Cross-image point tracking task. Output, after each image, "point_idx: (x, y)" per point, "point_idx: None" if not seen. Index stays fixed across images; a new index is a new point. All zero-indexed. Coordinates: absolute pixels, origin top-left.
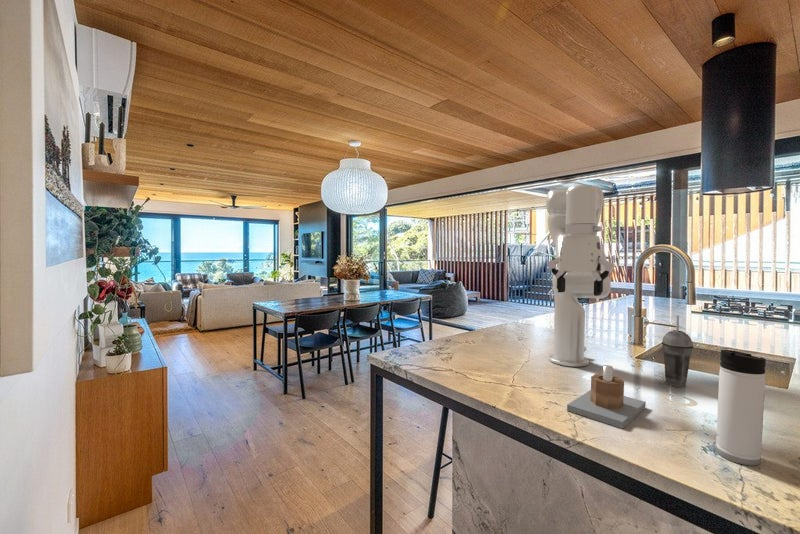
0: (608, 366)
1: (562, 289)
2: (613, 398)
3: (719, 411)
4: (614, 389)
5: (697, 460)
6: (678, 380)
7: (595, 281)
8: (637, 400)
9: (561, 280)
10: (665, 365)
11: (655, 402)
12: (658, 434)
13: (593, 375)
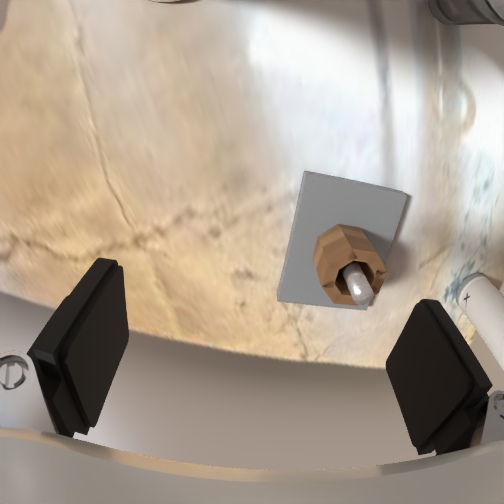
0: (364, 295)
1: (119, 323)
2: None
3: (480, 331)
4: None
5: None
6: (459, 24)
7: (422, 449)
8: (393, 198)
9: (95, 409)
10: (452, 3)
11: (418, 147)
12: (406, 289)
13: (325, 277)
